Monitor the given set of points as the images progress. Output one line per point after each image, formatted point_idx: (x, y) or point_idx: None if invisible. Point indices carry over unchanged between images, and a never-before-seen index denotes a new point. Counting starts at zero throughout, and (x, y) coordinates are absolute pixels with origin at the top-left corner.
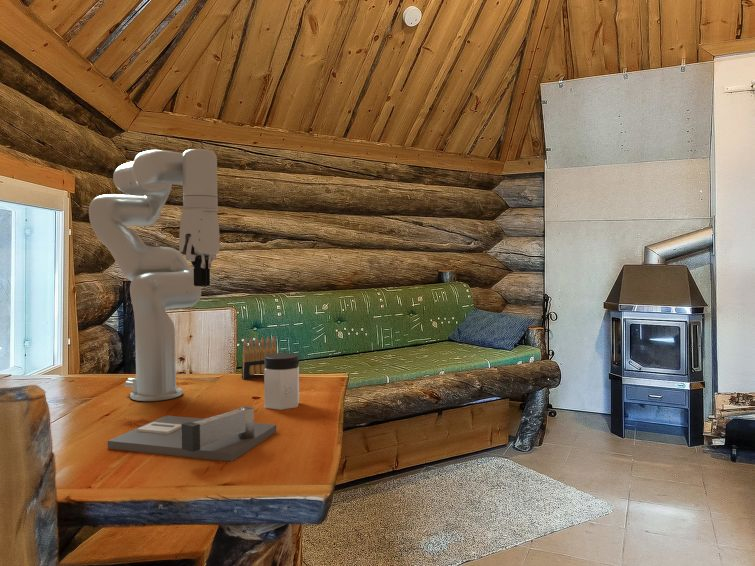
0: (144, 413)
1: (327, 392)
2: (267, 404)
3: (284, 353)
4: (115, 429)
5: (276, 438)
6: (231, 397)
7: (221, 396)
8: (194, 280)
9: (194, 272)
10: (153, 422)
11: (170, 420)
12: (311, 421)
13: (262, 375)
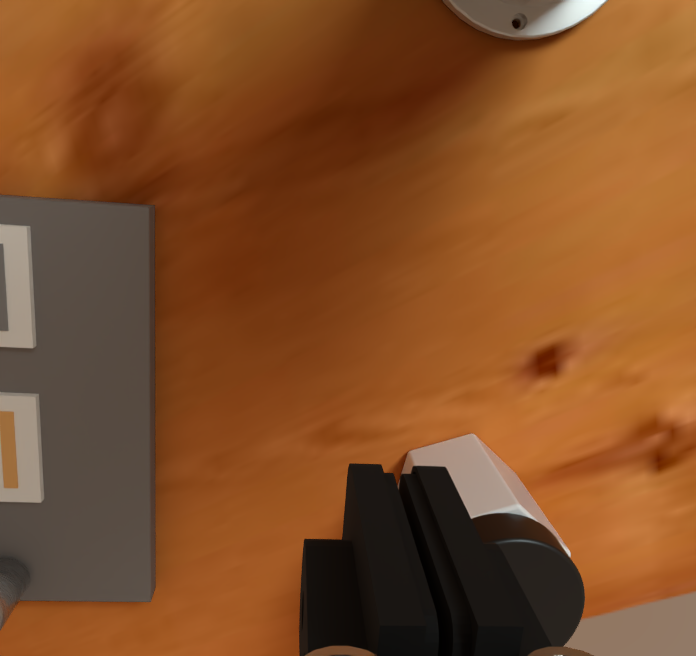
0: (246, 42)
1: (647, 567)
2: (406, 468)
3: (572, 597)
4: (19, 64)
5: (100, 608)
6: (540, 267)
7: (551, 220)
8: (358, 503)
9: (365, 590)
10: (21, 232)
11: (93, 260)
12: (286, 636)
13: None
